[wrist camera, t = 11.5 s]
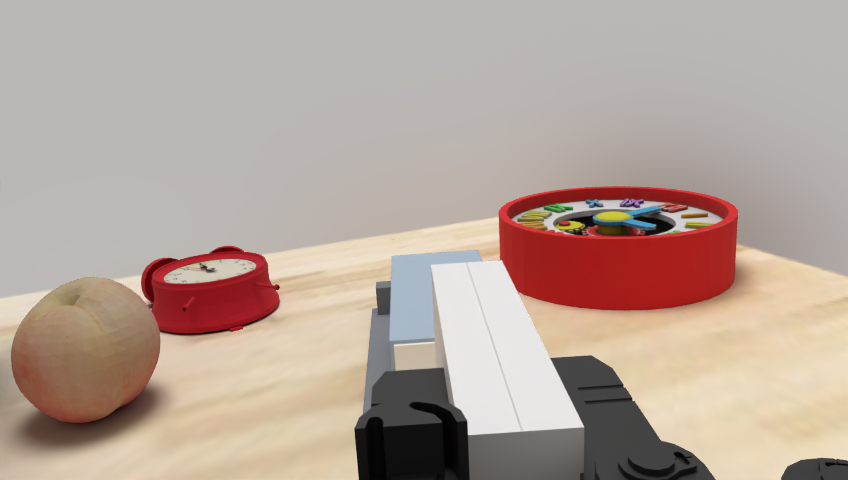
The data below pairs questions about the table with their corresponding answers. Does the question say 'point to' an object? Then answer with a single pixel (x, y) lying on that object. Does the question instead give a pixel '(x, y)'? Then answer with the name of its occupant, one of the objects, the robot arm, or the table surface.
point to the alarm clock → (209, 291)
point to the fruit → (85, 350)
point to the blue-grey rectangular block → (416, 307)
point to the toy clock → (619, 247)
